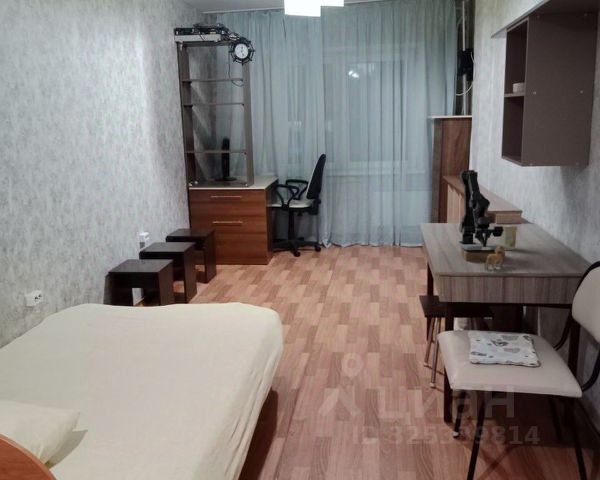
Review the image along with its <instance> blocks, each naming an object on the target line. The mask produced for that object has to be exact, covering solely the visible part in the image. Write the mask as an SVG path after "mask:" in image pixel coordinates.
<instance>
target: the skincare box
mask: <svg viewBox="0 0 600 480" xmlns="http://www.w3.org/2000/svg"><path fill="white" fill-rule="evenodd" d="M501 226H502V227H503V229H504V231H503V233H502V236H500V244H499V245H502V246H504V247H505V249H504V251H510V250H511V251H512V250H516V242H517V241H516V240H517V227H518V226H517V225H515V224H506V225H505V224H504V225H501Z"/></svg>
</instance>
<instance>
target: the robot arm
mask: <svg viewBox="0 0 600 480" xmlns="http://www.w3.org/2000/svg"><path fill="white" fill-rule="evenodd" d="M478 174H479V173H478V171H475V169H462V170H461V171H460V172H459V175H458V176H459V179H460V184H461V185H462V186H463V200H464V201H463V205H464V207H463V209H464V210H463V211H464V213H463V216H462V218H461V221H460V224H459V227H458V231H459V233H461V236H462V237H461V241H459V243H460V244H461V245H472V244H477V242H475V241H474V239H477V240H478V242H480V244H482V245H483V246H484V247H486V245H487V243H488V240H489V239H490V238H491V235H492V236H493V237H494V238H497V237H499V238H501V236H502V233H503V231H504V229H503V227H502V226H503V225H495V226H493V228H490V224H494V223H495V216H494V215H489V216H487V215H486V214H487V212H488V210H489V208H490V205H491V201H490V200H489V199H488V198H486V197H485V196H484V194H483V193H481V191H480V186H479V181H478V178H479V175H478Z"/></svg>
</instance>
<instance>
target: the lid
mask: <svg viewBox="0 0 600 480" xmlns="http://www.w3.org/2000/svg"><path fill="white" fill-rule="evenodd" d="M498 246H502V245H500V244H498V243H490V244H489V243H488V244H487V245H486V247H484V246H483V245H482V244H481V243H480V244H478V243H476V244H466V245H465V244H461V245H460V248H461V247H462V248H464V249H466V250H496V248H497V247H498ZM502 247H503V248H504V249H505V247H504V246H502Z"/></svg>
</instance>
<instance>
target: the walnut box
mask: <svg viewBox="0 0 600 480" xmlns="http://www.w3.org/2000/svg"><path fill="white" fill-rule="evenodd" d="M495 253H496V252H495V250H466V249H464V248H462V247H461V246H460V256H461V257H462V258H463V259H464V260H465V261H466V262H486V261H487V257H488V255H490V254H495ZM504 253H505V255H504V259H503V262H504V261H506V252H504Z"/></svg>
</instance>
